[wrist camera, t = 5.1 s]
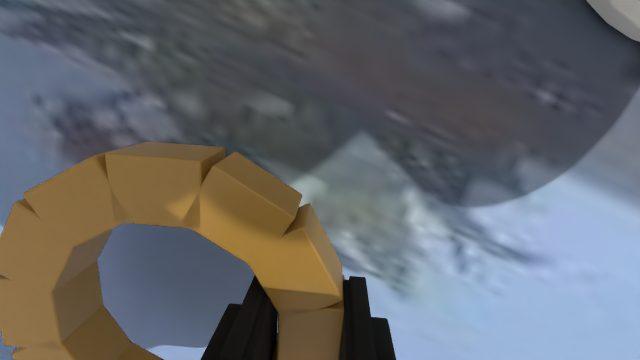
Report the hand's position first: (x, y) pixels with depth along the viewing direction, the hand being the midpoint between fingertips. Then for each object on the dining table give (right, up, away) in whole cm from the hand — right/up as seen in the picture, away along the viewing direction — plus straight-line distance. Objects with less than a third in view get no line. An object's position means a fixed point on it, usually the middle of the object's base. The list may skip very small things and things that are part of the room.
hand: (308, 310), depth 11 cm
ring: (-4, +1, +1) cm, 4 cm away
